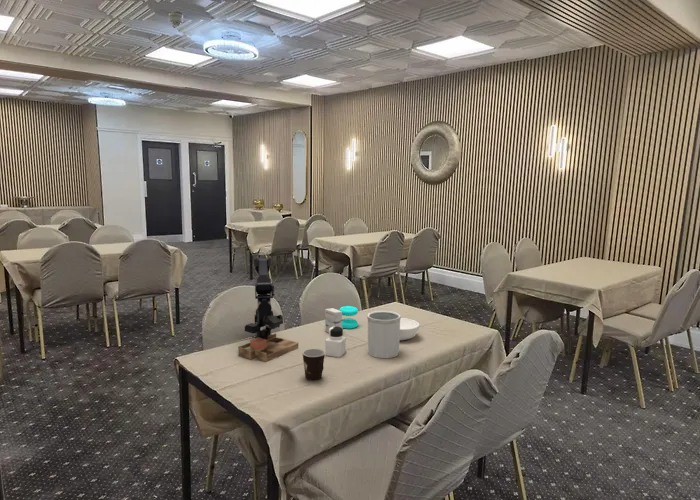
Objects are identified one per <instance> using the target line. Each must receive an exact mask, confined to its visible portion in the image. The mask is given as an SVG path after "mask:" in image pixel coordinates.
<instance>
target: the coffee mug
mask: <svg viewBox="0 0 700 500" xmlns="http://www.w3.org/2000/svg"><path fill="white" fill-rule="evenodd" d="M325 356H326V355H325V350H323V349H320V348H308V349H305V350H304V351H302V358H303V359H302V360H303V368H304V370H303V371H304V377H305V379H306V380H307V381H313V382H315V381H319V380H321V379H322V378H323V371H324V363H325Z"/></svg>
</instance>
